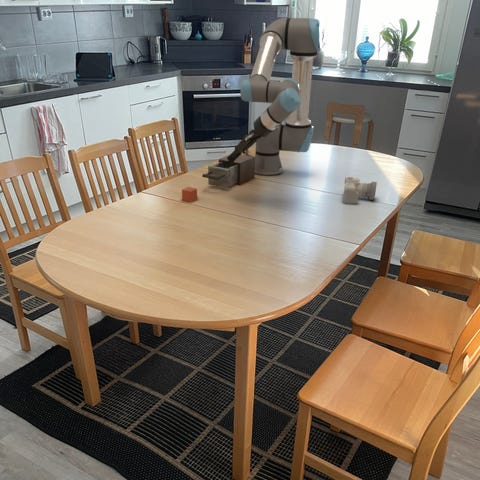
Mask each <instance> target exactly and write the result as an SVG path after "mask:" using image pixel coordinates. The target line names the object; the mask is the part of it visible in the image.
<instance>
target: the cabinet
mask: <svg viewBox="0 0 480 480" xmlns="http://www.w3.org/2000/svg"><path fill="white" fill-rule="evenodd" d="M229 155H230V154H228V155H226V156H223V157H221V158H218V163H220V162H222V161H223V162H228V163H230V162H229V161H228V159H227V157H228V156H229ZM248 155H249V154H248ZM248 155H246V154H243V153H242V154H241V155H240V156H239V157H238V158H237V159H236V160H235V161H234V162H233V164H239V182H237V183H235V184H234V185H237V186H241V185H243V184H245V183H247V182H249V181H251V180H253V179H255V173H254V172H255V156H254V155H251V156H248ZM253 156H254V157H253Z"/></svg>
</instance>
